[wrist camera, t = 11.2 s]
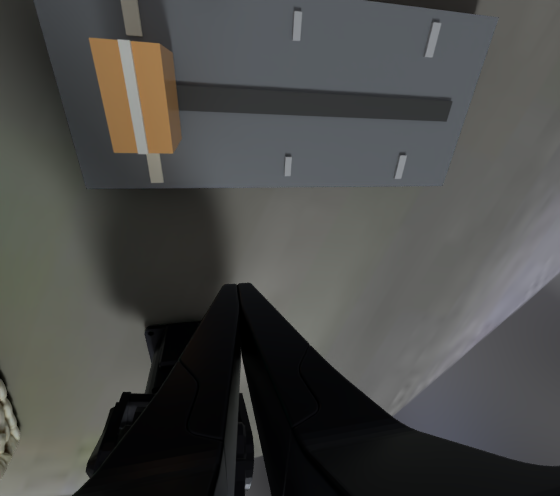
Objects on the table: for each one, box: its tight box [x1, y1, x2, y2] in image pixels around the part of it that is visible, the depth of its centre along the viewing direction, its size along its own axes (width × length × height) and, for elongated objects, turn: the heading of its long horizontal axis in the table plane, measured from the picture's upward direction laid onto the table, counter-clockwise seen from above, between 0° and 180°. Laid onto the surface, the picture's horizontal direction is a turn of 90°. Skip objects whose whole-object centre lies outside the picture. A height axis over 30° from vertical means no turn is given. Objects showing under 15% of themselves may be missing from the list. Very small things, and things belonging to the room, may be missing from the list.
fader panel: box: [33, 0, 499, 189], centre depth 18 cm, size 10×24×2 cm, turn 87°
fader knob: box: [89, 38, 182, 154], centre depth 13 cm, size 4×2×4 cm, turn 177°
